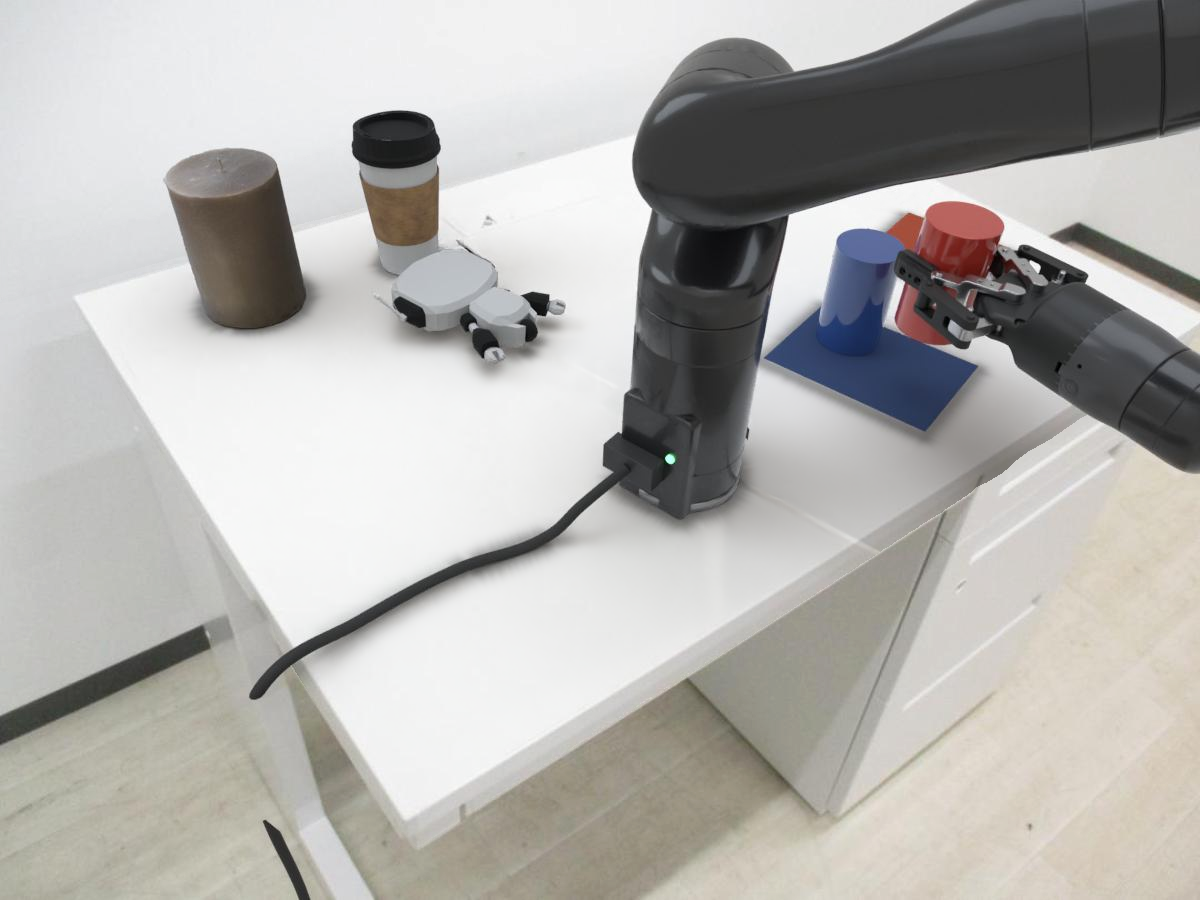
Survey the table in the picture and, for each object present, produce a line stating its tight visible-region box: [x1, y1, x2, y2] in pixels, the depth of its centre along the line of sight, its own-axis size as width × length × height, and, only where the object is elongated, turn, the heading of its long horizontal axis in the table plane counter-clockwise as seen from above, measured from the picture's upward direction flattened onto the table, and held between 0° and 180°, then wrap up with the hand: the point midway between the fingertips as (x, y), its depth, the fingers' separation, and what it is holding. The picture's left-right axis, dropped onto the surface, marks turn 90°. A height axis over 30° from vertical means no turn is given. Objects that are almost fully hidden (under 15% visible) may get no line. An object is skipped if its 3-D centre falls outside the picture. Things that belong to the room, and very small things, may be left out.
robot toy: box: [371, 239, 567, 365], centre depth 90 cm, size 12×4×15 cm
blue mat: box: [763, 306, 979, 433], centre depth 88 cm, size 12×16×1 cm
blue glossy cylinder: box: [816, 228, 905, 356], centre depth 87 cm, size 6×6×10 cm
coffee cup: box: [351, 109, 442, 276], centre depth 94 cm, size 8×8×15 cm
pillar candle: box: [162, 147, 307, 329], centre depth 88 cm, size 10×10×15 cm
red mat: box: [885, 212, 1007, 273], centre depth 103 cm, size 12×12×1 cm
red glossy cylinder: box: [894, 200, 1005, 346], centre depth 77 cm, size 6×6×10 cm
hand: (928, 249), depth 78 cm, fingers closed on red glossy cylinder, 6 cm apart
